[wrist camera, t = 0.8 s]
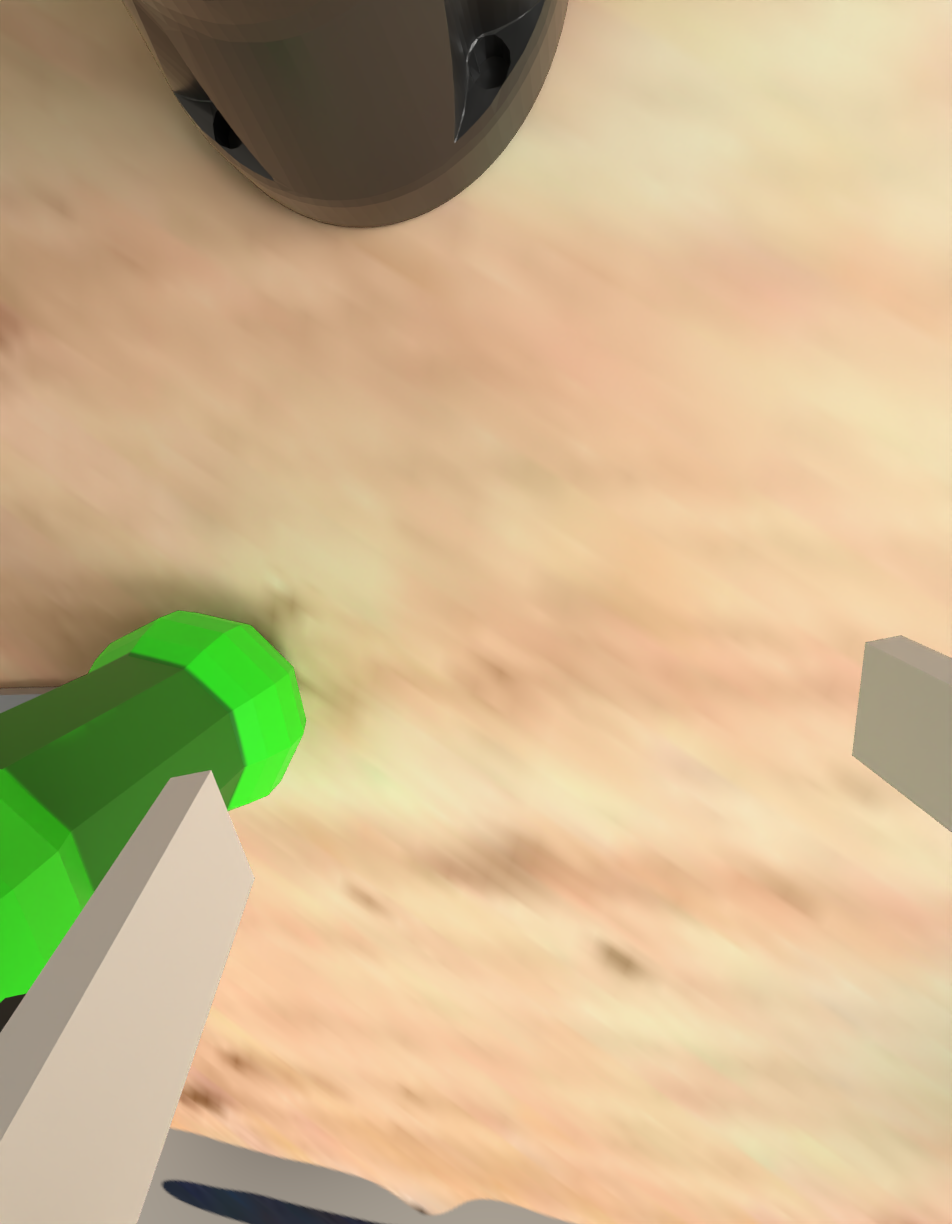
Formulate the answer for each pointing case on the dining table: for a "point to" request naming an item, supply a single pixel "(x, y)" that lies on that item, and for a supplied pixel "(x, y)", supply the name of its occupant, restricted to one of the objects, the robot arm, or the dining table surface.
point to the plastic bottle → (128, 763)
